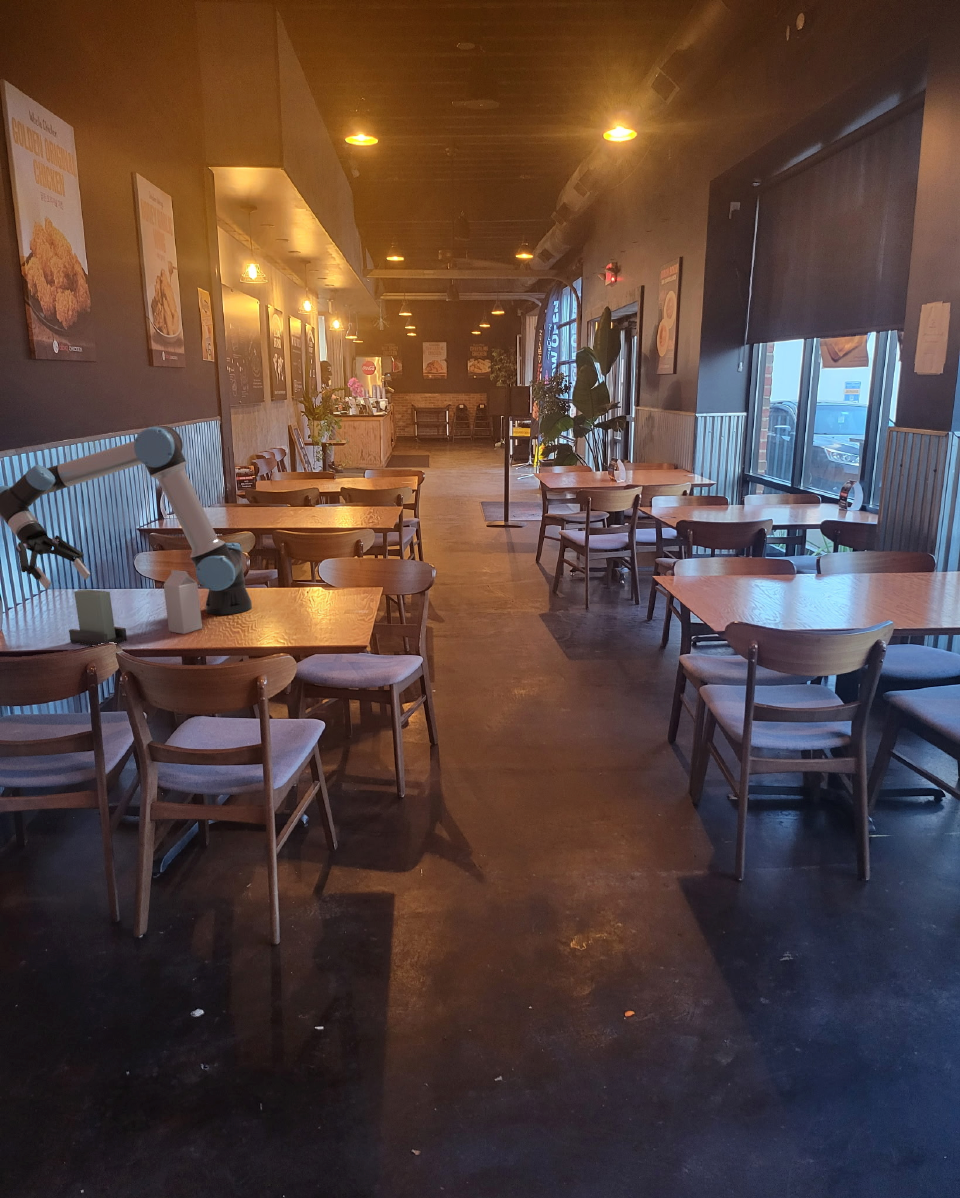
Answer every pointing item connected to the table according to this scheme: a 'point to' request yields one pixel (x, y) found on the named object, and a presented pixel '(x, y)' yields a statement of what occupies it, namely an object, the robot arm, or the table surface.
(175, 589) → the milk carton
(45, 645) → the table surface
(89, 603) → the door panel
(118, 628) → the bottom track
